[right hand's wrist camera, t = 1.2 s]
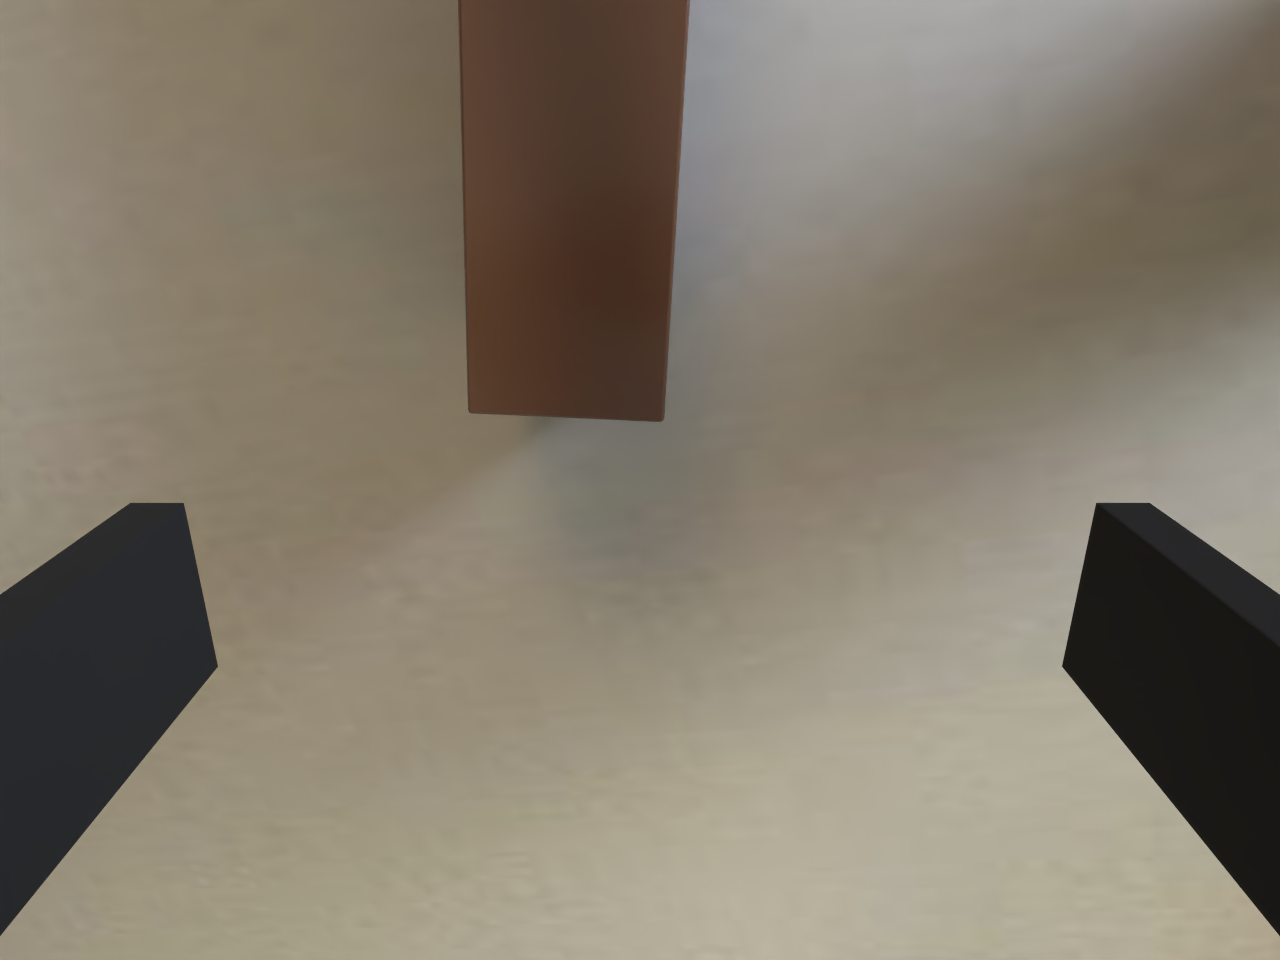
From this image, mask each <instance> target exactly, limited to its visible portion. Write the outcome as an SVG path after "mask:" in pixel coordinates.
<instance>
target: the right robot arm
mask: <svg viewBox="0 0 1280 960" xmlns="http://www.w3.org/2000/svg"><path fill="white" fill-rule="evenodd" d="M217 667H218V665H217V660H216V655H215V650H214V646H213V641H212V636H211V631H210V627H209V622H208V617H207V612H206V607H205V603H204V598H203V593H202V588H201V583H200V579H199V574H198V569H197V564H196V559H195V555H194V550H193V545H192V540H191V535H190V531H189V526H188V521H187V516H186V512H185V507H184V503H130V504H128V505H127V506H126V507H124V508H123V509H121V510H120V511H118V512H117V513H116V514H114V515H113V516H111V517H110V518H108V519H107V520H106V521H104V522H103V523H101V524H100V525H99V526H97V527H96V528H94V529H93V530H91V531H90V532H89V533H87V534H86V535H84V536H83V537H81V538H80V539H79V540H77V541H76V542H74V543H73V544H72V545H70V546H69V547H67V548H66V549H64V550H63V551H62V552H60V553H59V554H57V555H56V556H55V557H53V558H52V559H50V560H49V561H47V562H46V563H45V564H43V565H42V566H40V567H39V568H37V569H36V570H35V571H33V572H32V573H30V574H29V575H28V576H26V577H25V578H23V579H22V580H20V581H19V582H18V583H16V584H15V585H13V586H12V587H11V588H9V589H8V590H6V591H5V592H3V593H2V594H1V595H0V936H1V934H2V933H3V932H4V931H5V929H6V928H7V927H8V926H9V924H10V923H11V922H12V921H13V919H14V918H15V917H16V916H17V914H18V913H19V912H20V911H21V910H22V908H23V907H24V906H25V905H26V903H27V902H28V901H29V900H30V898H31V897H32V896H33V895H34V893H35V892H36V891H37V890H38V888H39V887H40V886H41V885H42V884H43V882H44V881H45V880H46V879H47V877H48V876H49V875H50V874H51V872H52V871H53V870H54V869H55V867H56V866H57V865H58V864H59V862H60V861H61V860H62V859H63V858H64V856H65V855H66V854H67V853H68V851H69V850H70V849H71V848H72V846H73V845H74V844H75V843H76V841H77V840H78V839H79V838H80V837H81V835H82V834H83V833H84V832H85V830H86V829H87V828H88V827H89V825H90V824H91V823H92V822H93V820H94V819H95V818H96V817H97V815H98V814H99V813H100V812H101V811H102V809H103V808H104V807H105V806H106V804H107V803H108V802H109V801H110V799H111V798H112V797H113V796H114V794H115V793H116V792H117V791H118V789H119V788H120V787H121V786H122V785H123V783H124V782H125V781H126V780H127V778H128V777H129V776H130V775H131V773H132V772H133V771H134V770H135V768H136V767H137V766H138V765H139V763H140V762H141V761H142V760H143V759H144V757H145V756H146V755H147V754H148V752H149V751H150V750H151V749H152V747H153V746H154V745H155V744H156V742H157V741H158V740H159V739H160V737H161V736H162V735H163V734H164V733H165V731H166V730H167V729H168V728H169V726H170V725H171V724H172V723H173V721H174V720H175V719H176V718H177V716H178V715H179V714H180V713H181V712H182V710H183V709H184V708H185V707H186V705H187V704H188V703H189V702H190V700H191V699H192V698H193V697H194V695H195V694H196V693H197V692H198V690H199V689H200V688H201V687H202V686H203V684H204V683H205V682H206V681H207V679H208V678H209V677H210V676H211V674H212V673H213V672H214V671H215V669H216V668H217ZM1062 667H1063V668H1064V669H1065V671H1066V672H1067V673H1068V674H1069V676H1070V677H1071V678H1072V679H1073V681H1074V682H1075V683H1076V684H1077V686H1078V687H1079V688H1080V689H1081V690H1082V692H1083V693H1084V694H1085V695H1086V697H1087V698H1088V699H1089V700H1090V702H1091V703H1092V704H1093V705H1094V707H1095V708H1096V709H1097V710H1098V712H1099V713H1100V714H1101V715H1102V716H1103V718H1104V719H1105V720H1106V721H1107V723H1108V724H1109V725H1110V726H1111V728H1112V729H1113V730H1114V731H1115V733H1116V734H1117V735H1118V736H1119V738H1120V739H1121V740H1122V741H1123V742H1124V744H1125V745H1126V746H1127V747H1128V749H1129V750H1130V751H1131V752H1132V754H1133V755H1134V756H1135V757H1136V759H1137V760H1138V761H1139V762H1140V763H1141V765H1142V766H1143V767H1144V768H1145V770H1146V771H1147V772H1148V773H1149V775H1150V776H1151V777H1152V778H1153V780H1154V781H1155V782H1156V783H1157V785H1158V786H1159V787H1160V788H1161V789H1162V791H1163V792H1164V793H1165V794H1166V796H1167V797H1168V798H1169V799H1170V801H1171V802H1172V803H1173V804H1174V806H1175V807H1176V808H1177V809H1178V811H1179V812H1180V813H1181V814H1182V815H1183V817H1184V818H1185V819H1186V820H1187V822H1188V823H1189V824H1190V825H1191V827H1192V828H1193V829H1194V830H1195V832H1196V833H1197V834H1198V835H1199V837H1200V838H1201V839H1202V840H1203V841H1204V843H1205V844H1206V845H1207V846H1208V848H1209V849H1210V850H1211V851H1212V853H1213V854H1214V855H1215V856H1216V858H1217V859H1218V860H1219V861H1220V862H1221V864H1222V865H1223V866H1224V867H1225V869H1226V870H1227V871H1228V872H1229V874H1230V875H1231V876H1232V877H1233V879H1234V880H1235V881H1236V882H1237V884H1238V885H1239V886H1240V887H1241V888H1242V890H1243V891H1244V892H1245V893H1246V895H1247V896H1248V897H1249V898H1250V900H1251V901H1252V902H1253V903H1254V905H1255V906H1256V907H1257V908H1258V910H1259V911H1260V912H1261V913H1262V914H1263V916H1264V917H1265V918H1266V919H1267V921H1268V922H1269V923H1270V924H1271V926H1272V927H1273V928H1274V929H1275V931H1276V932H1277V933H1278V934H1279V936H1280V595H1279V594H1278V593H1277V592H1275V591H1274V590H1272V589H1271V588H1269V587H1268V586H1267V585H1265V584H1264V583H1262V582H1261V581H1260V580H1258V579H1257V578H1255V577H1254V576H1252V575H1251V574H1250V573H1248V572H1247V571H1245V570H1244V569H1243V568H1241V567H1240V566H1238V565H1237V564H1235V563H1234V562H1233V561H1231V560H1230V559H1228V558H1227V557H1225V556H1224V555H1223V554H1221V553H1220V552H1218V551H1217V550H1216V549H1214V548H1213V547H1211V546H1210V545H1208V544H1207V543H1206V542H1204V541H1203V540H1201V539H1200V538H1198V537H1197V536H1196V535H1194V534H1193V533H1191V532H1190V531H1189V530H1187V529H1186V528H1184V527H1183V526H1181V525H1180V524H1179V523H1177V522H1176V521H1174V520H1173V519H1172V518H1170V517H1169V516H1167V515H1166V514H1164V513H1163V512H1162V511H1160V510H1159V509H1157V508H1156V507H1154V506H1153V505H1152V504H1150V503H1096V507H1095V512H1094V516H1093V521H1092V526H1091V531H1090V535H1089V540H1088V545H1087V550H1086V555H1085V559H1084V564H1083V569H1082V574H1081V579H1080V583H1079V588H1078V593H1077V598H1076V603H1075V607H1074V612H1073V617H1072V622H1071V626H1070V631H1069V636H1068V641H1067V646H1066V650H1065V655H1064V660H1063V665H1062Z"/></svg>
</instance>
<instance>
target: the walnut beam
mask: <svg viewBox="0 0 1280 960" xmlns="http://www.w3.org/2000/svg"><path fill="white" fill-rule="evenodd" d="M689 7H690V0H458V13H459V54H460V96H461V137H462V179H463V220H464V262H465V304H466V345H467V387H468V410H469V412H470V413H475V414H497V415H519V416H542V417H564V418H586V419H608V420H630V421H652V422H661V421H663V420H664V412H665V396H666V380H667V363H668V347H669V331H670V315H671V299H672V282H673V266H674V250H675V234H676V217H677V201H678V185H679V169H680V153H681V136H682V120H683V104H684V88H685V72H686V55H687V39H688V23H689Z"/></svg>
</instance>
